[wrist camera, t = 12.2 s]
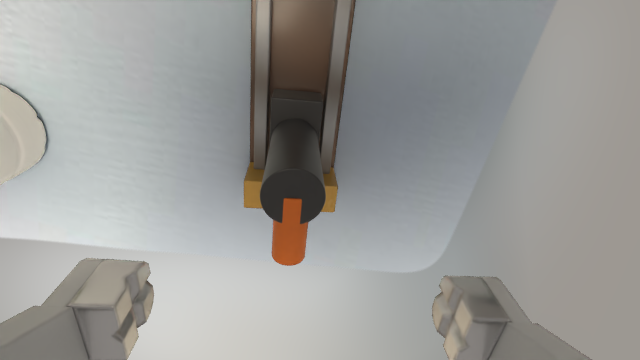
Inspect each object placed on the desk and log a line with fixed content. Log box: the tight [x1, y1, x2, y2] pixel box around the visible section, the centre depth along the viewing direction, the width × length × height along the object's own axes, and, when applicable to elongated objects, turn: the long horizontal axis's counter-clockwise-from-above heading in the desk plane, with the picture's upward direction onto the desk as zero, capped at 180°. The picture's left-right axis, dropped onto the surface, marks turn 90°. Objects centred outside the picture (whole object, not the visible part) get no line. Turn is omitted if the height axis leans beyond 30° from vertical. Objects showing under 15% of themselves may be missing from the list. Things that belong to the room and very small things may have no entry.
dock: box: [244, 162, 338, 212], centre depth 23 cm, size 2×6×3 cm, turn 84°
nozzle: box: [260, 89, 326, 266], centre depth 19 cm, size 6×3×10 cm, turn 174°
